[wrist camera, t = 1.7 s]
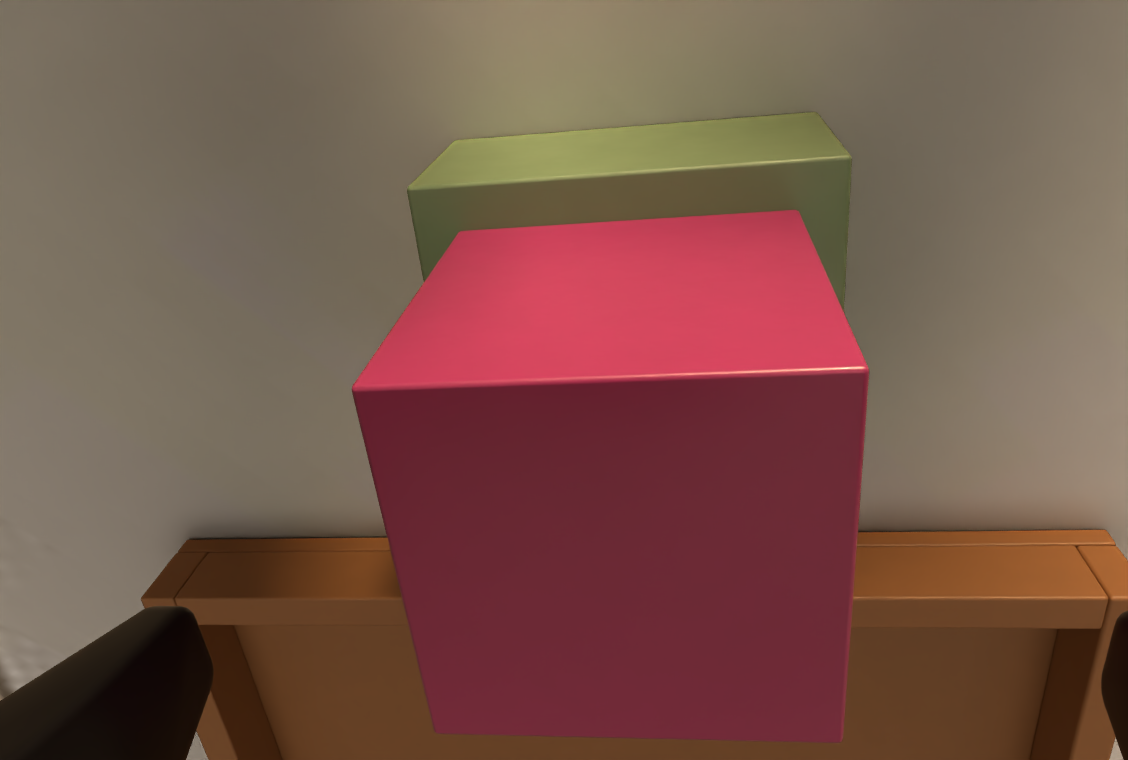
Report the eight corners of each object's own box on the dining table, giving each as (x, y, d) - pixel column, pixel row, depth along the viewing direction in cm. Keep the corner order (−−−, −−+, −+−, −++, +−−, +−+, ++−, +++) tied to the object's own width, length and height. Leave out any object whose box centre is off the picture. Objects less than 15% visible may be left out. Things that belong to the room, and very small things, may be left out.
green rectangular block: (818, 110, 15) (853, 154, 12) (806, 432, 18) (832, 529, 15) (453, 139, 16) (404, 187, 13) (500, 440, 18) (469, 534, 16)
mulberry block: (799, 208, 12) (871, 366, 8) (791, 496, 14) (843, 746, 10) (458, 230, 13) (348, 387, 9) (501, 501, 15) (433, 736, 11)
